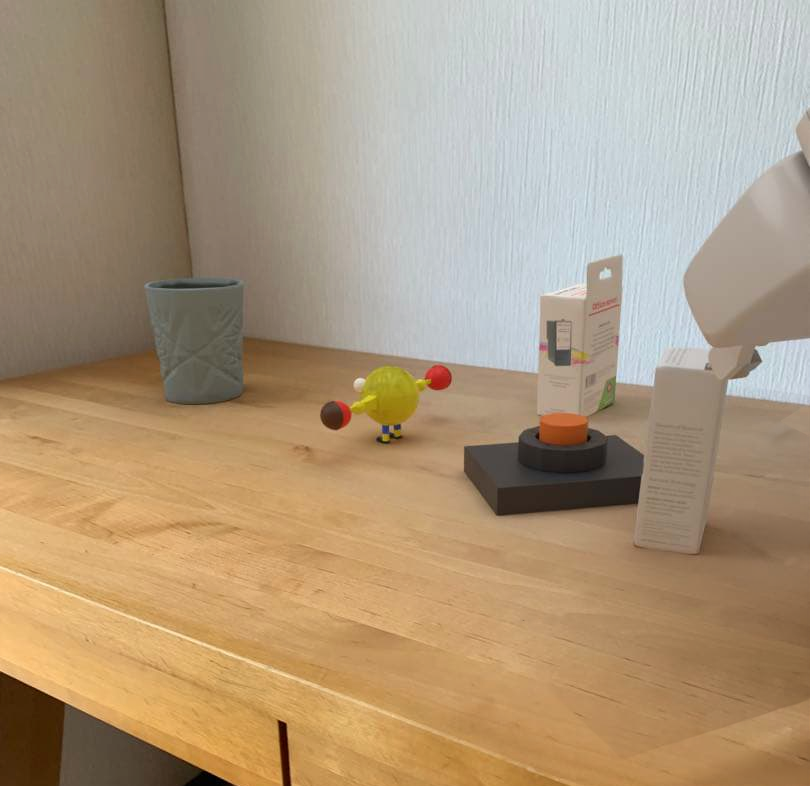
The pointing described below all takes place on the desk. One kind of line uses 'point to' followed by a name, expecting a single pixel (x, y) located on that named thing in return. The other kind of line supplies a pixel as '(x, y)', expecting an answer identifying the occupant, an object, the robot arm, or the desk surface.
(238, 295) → the drinking glass
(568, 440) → the button
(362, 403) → the toy figure
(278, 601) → the desk surface
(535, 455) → the black button base
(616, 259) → the ink box
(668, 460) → the cosmetic box
